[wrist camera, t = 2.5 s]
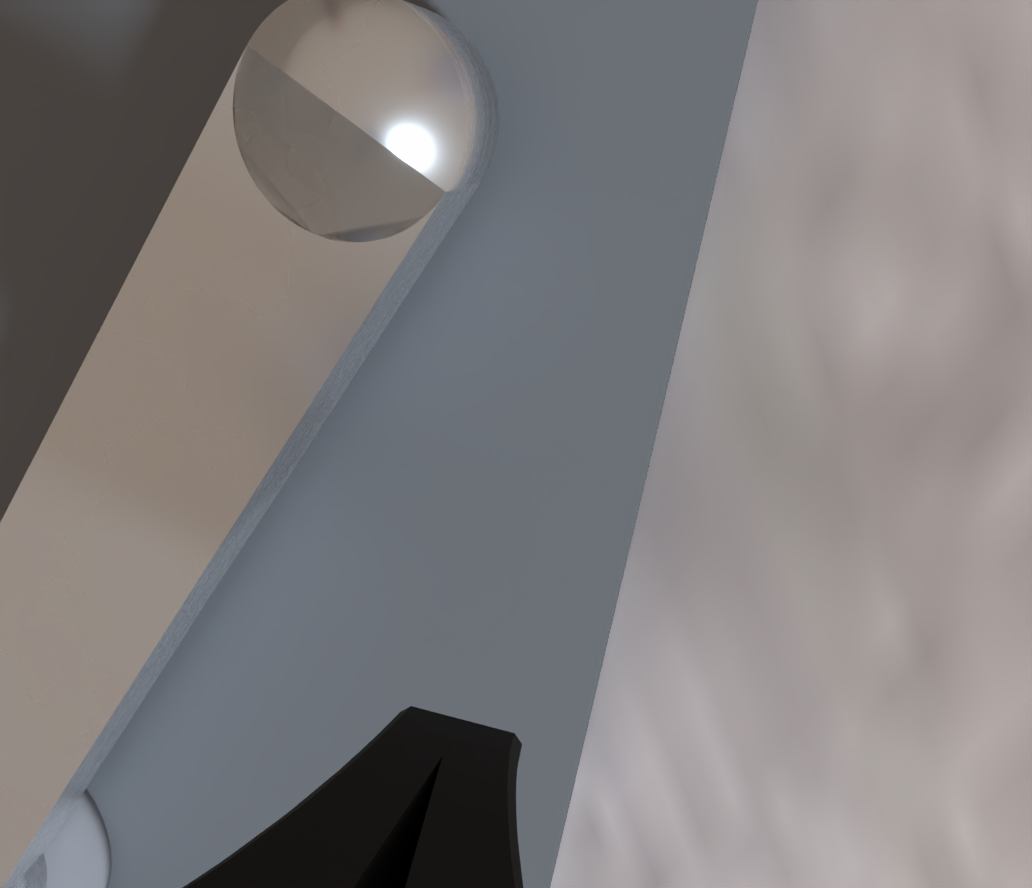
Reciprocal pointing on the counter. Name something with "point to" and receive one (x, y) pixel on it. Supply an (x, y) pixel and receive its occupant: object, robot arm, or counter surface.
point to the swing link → (221, 370)
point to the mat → (382, 405)
